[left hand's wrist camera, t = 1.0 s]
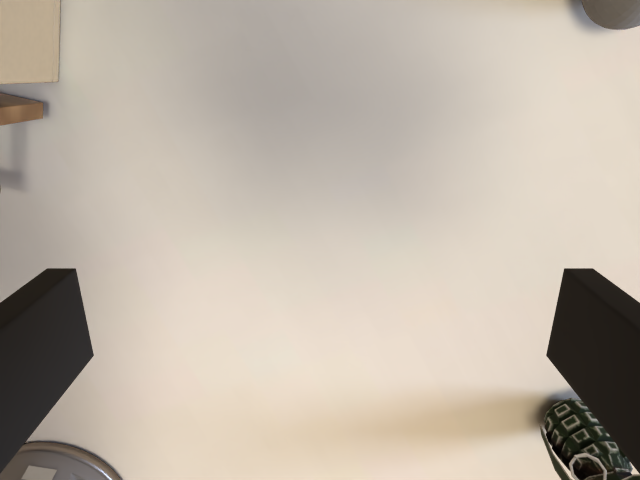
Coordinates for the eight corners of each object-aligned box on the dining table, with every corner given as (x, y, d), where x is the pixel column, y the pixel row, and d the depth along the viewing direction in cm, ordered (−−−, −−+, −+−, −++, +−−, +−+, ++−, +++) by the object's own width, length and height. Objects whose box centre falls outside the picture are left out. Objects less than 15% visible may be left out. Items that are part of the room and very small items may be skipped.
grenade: (593, 381, 44) (668, 465, 34) (597, 426, 46) (669, 518, 36) (524, 396, 44) (579, 484, 35) (532, 441, 46) (585, 535, 37)
